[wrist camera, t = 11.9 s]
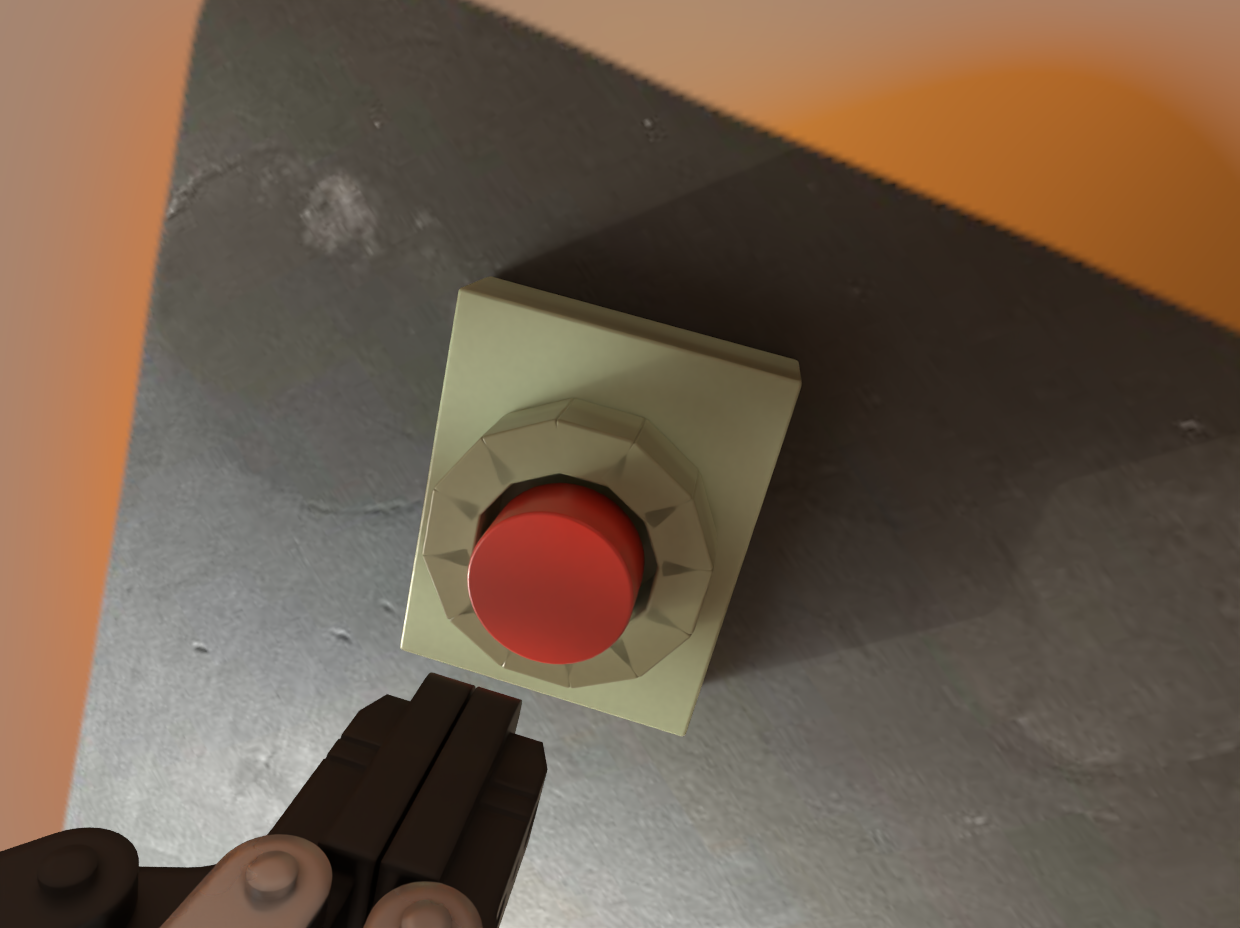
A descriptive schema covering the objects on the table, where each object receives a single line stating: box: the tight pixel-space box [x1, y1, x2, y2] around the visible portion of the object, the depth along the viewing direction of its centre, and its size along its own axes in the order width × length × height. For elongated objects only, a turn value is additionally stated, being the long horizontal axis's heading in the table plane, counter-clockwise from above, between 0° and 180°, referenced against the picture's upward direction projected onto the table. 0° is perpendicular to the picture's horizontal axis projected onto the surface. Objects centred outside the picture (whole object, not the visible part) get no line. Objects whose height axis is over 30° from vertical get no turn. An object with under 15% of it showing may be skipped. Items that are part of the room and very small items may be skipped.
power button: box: [467, 483, 645, 664], centre depth 18 cm, size 4×4×2 cm
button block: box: [400, 277, 802, 736], centre depth 21 cm, size 10×8×4 cm
